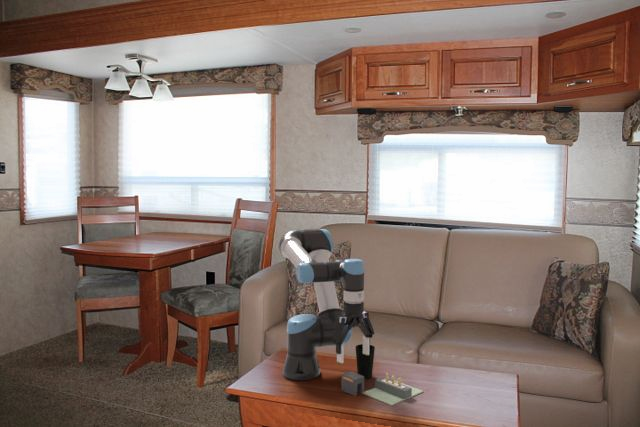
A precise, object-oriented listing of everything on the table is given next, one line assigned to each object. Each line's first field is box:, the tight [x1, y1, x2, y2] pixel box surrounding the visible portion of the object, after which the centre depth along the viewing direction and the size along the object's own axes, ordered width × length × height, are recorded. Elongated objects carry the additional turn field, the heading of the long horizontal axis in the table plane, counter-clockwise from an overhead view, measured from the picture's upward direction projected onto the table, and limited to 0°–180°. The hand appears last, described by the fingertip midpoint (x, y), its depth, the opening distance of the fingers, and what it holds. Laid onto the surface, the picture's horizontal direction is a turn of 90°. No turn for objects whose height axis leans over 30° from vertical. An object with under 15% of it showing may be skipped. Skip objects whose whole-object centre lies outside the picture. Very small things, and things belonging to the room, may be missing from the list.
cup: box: [355, 343, 376, 380], centre depth 216 cm, size 8×8×12 cm
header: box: [361, 372, 424, 406], centre depth 200 cm, size 14×18×6 cm
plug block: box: [340, 370, 365, 397], centre depth 201 cm, size 7×5×6 cm
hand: (353, 358), depth 200 cm, fingers open, 13 cm apart
